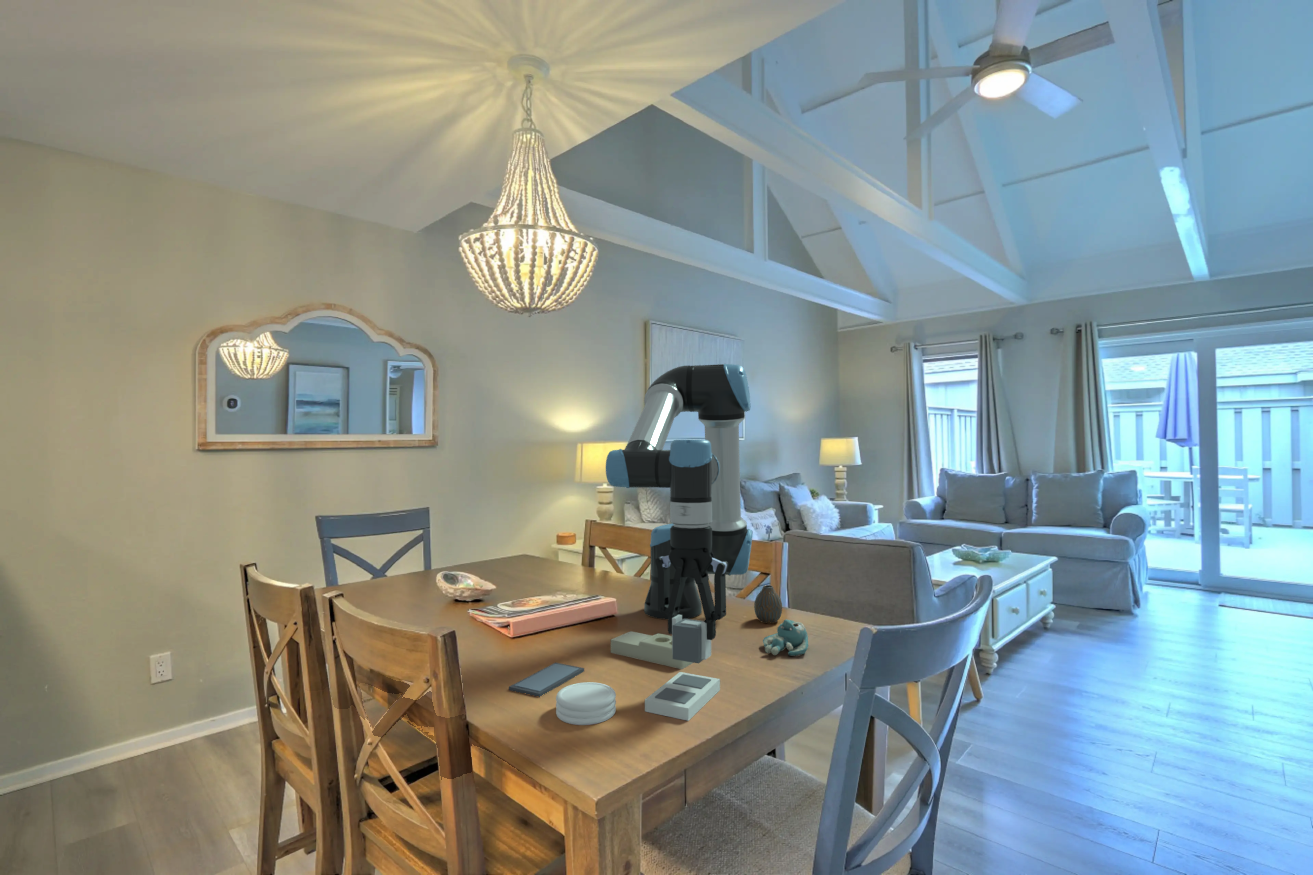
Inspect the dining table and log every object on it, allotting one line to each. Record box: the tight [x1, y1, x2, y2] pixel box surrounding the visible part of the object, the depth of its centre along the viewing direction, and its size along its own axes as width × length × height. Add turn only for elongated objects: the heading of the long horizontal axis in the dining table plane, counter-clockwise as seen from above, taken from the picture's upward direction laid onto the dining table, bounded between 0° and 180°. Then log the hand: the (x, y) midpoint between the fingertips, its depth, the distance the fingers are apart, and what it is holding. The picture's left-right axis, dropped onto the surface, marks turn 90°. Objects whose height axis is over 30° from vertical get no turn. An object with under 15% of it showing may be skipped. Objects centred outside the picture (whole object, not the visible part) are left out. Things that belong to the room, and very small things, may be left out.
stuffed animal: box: [762, 619, 809, 657], centre depth 136 cm, size 11×7×12 cm
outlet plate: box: [644, 671, 721, 722], centre depth 110 cm, size 14×8×2 cm, turn 153°
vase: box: [753, 584, 783, 624], centre depth 158 cm, size 7×7×9 cm
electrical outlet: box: [610, 631, 693, 670], centre depth 133 cm, size 7×4×18 cm
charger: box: [673, 618, 704, 664], centre depth 113 cm, size 5×5×6 cm
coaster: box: [555, 681, 617, 726], centre depth 106 cm, size 10×10×4 cm
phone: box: [508, 662, 585, 698], centre depth 120 cm, size 14×7×1 cm, turn 152°
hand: (691, 654), depth 113 cm, fingers closed on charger, 5 cm apart
